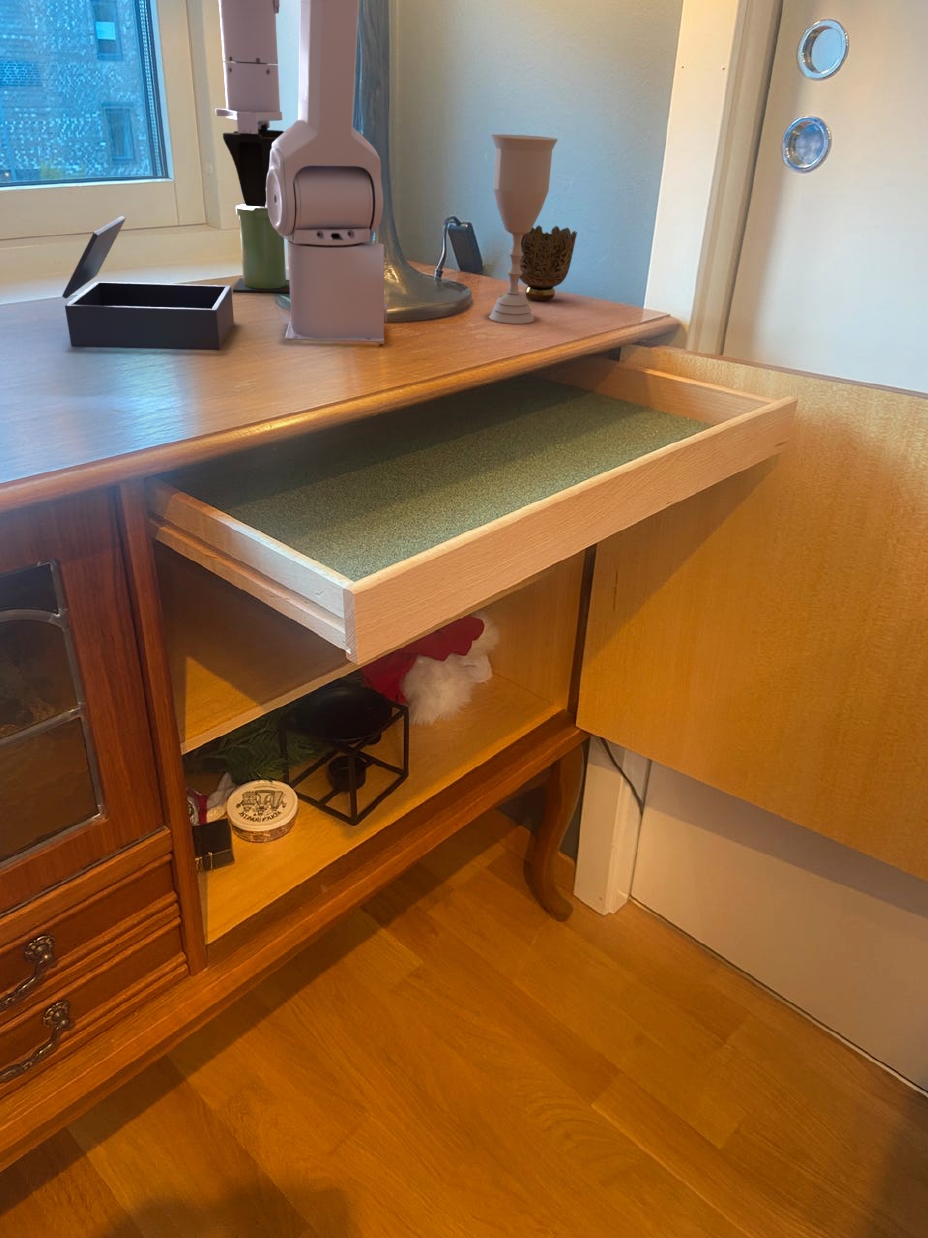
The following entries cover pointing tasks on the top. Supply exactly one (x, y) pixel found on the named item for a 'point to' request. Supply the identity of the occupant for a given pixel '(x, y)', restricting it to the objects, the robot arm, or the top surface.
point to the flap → (94, 256)
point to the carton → (151, 316)
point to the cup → (545, 261)
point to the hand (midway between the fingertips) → (259, 202)
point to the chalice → (519, 207)
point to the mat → (244, 289)
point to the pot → (261, 249)
